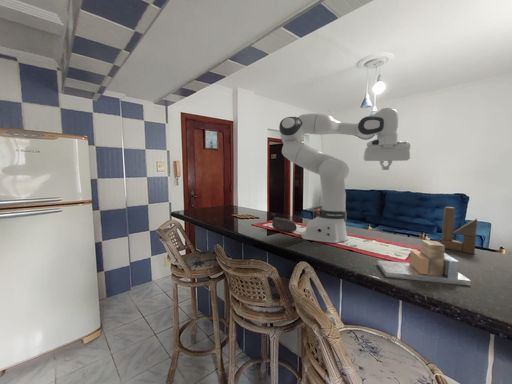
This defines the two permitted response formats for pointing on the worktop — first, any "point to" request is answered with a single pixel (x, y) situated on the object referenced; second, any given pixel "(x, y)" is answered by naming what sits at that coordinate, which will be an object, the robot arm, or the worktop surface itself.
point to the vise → (410, 272)
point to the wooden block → (466, 230)
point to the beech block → (434, 255)
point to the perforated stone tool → (283, 224)
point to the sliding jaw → (420, 262)
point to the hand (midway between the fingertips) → (385, 169)
